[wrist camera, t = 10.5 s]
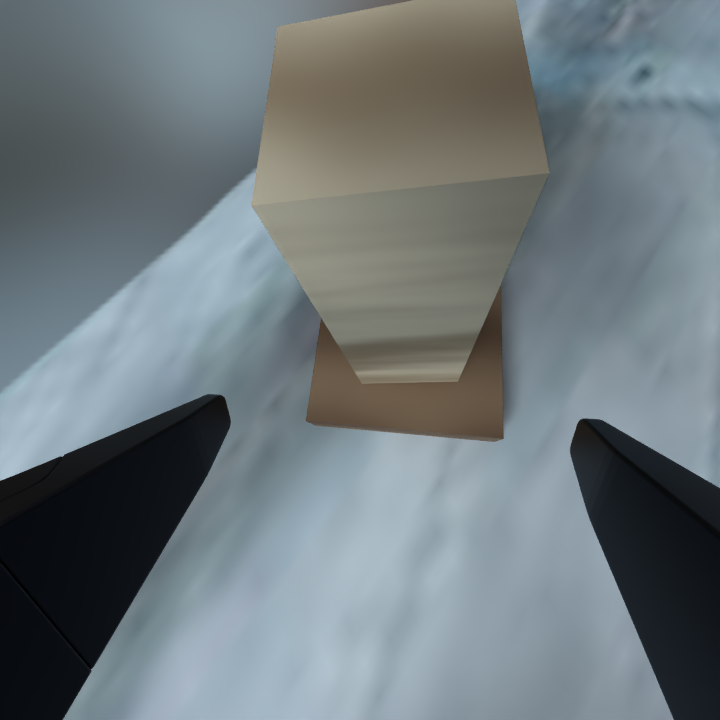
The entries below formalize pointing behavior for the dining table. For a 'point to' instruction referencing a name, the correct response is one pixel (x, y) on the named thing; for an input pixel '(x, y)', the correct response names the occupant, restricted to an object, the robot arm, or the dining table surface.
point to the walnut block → (414, 393)
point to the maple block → (401, 175)
